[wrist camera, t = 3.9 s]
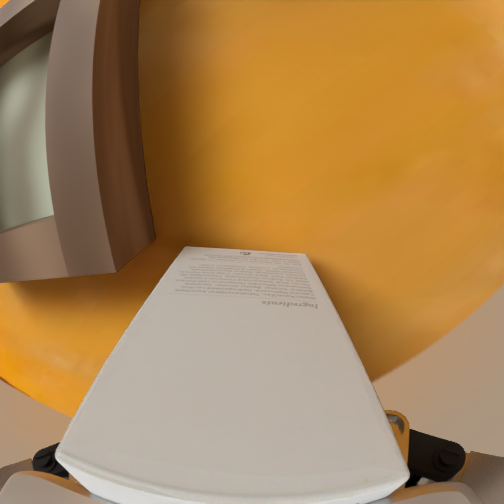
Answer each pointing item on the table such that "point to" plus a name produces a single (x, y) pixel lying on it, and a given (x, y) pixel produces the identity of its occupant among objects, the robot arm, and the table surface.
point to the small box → (234, 394)
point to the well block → (70, 139)
